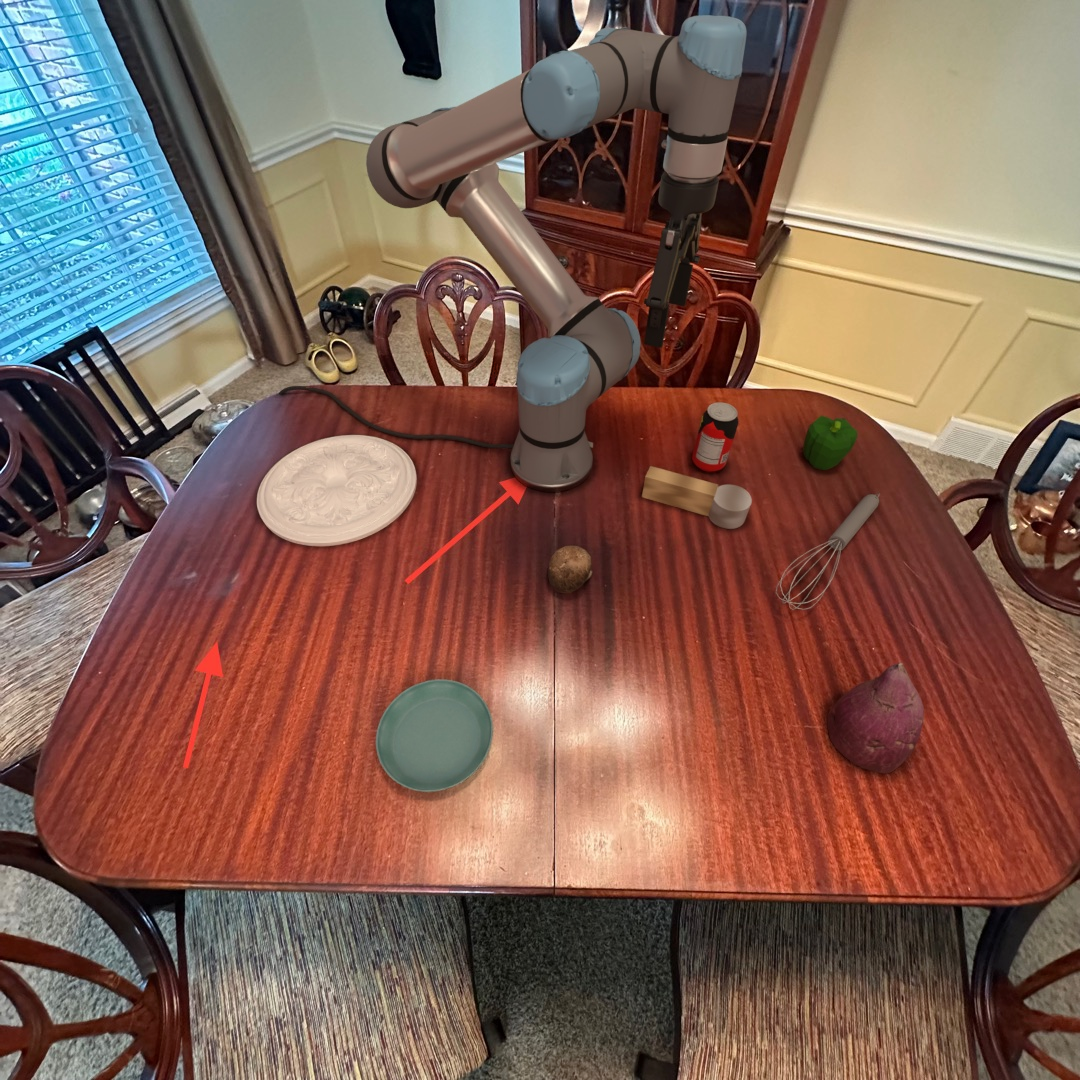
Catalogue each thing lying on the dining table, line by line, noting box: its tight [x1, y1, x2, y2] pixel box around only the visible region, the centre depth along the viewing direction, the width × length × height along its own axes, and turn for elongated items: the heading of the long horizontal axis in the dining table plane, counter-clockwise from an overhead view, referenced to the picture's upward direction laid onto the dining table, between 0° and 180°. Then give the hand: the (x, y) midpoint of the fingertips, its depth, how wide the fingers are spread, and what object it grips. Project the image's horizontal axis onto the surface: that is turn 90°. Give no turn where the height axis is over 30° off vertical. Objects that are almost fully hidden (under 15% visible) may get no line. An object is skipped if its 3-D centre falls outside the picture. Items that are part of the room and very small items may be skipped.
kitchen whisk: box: [775, 492, 881, 611], centre depth 96 cm, size 6×34×6 cm, turn 137°
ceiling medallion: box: [256, 434, 418, 547], centre depth 108 cm, size 28×28×3 cm
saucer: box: [375, 678, 494, 793], centre depth 77 cm, size 15×15×3 cm
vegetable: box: [826, 662, 925, 774], centre depth 75 cm, size 10×10×15 cm
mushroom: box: [546, 545, 593, 594], centre depth 93 cm, size 8×8×6 cm
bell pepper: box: [802, 415, 858, 471], centre depth 110 cm, size 8×8×10 cm
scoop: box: [641, 465, 753, 530], centre depth 104 cm, size 18×6×5 cm, turn 67°
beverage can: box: [691, 402, 739, 473], centre depth 108 cm, size 6×6×12 cm
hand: (665, 323), depth 95 cm, fingers open, 13 cm apart
